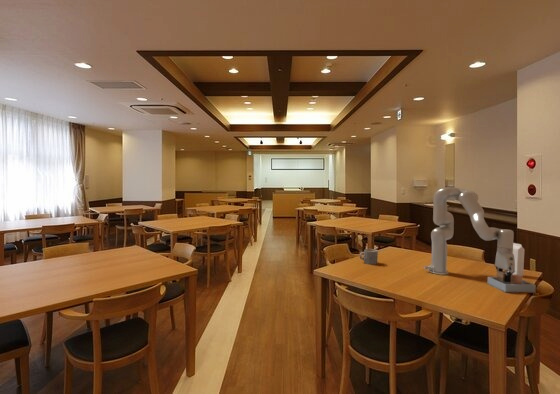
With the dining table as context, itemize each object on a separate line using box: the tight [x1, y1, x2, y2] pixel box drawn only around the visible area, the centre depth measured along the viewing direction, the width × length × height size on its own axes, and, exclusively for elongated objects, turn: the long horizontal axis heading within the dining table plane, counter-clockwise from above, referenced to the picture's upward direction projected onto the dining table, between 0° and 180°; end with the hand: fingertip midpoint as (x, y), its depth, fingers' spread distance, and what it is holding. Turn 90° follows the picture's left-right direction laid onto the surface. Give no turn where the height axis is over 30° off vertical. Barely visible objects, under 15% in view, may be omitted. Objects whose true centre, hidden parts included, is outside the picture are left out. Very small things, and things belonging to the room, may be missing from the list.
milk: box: [507, 242, 525, 277], centre depth 205 cm, size 6×6×22 cm
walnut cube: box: [496, 270, 512, 282], centre depth 179 cm, size 5×5×5 cm
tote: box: [486, 276, 537, 294], centre depth 180 cm, size 18×15×4 cm
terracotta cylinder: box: [511, 274, 523, 284], centre depth 180 cm, size 5×5×7 cm
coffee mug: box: [359, 248, 379, 266], centre depth 233 cm, size 13×10×10 cm
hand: (503, 279), depth 179 cm, fingers closed on walnut cube, 5 cm apart
